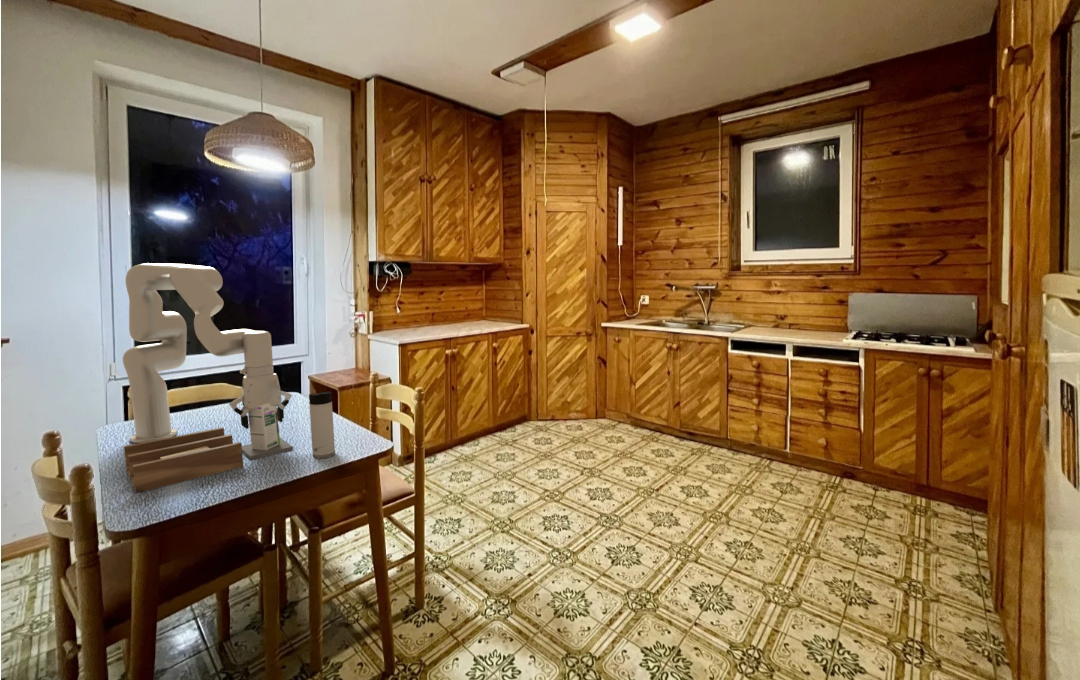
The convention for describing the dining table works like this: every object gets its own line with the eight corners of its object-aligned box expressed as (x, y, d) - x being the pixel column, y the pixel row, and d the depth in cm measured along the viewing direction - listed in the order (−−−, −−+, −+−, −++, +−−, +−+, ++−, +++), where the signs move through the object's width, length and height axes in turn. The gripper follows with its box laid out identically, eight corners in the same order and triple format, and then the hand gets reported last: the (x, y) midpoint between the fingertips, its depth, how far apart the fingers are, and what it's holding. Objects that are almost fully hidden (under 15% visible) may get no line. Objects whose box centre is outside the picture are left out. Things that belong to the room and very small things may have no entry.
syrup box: (266, 450, 150) (262, 405, 148) (250, 449, 152) (246, 404, 150) (280, 444, 156) (277, 400, 154) (265, 443, 157) (261, 399, 155)
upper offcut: (161, 467, 133) (159, 457, 133) (206, 455, 142) (205, 446, 142) (168, 472, 130) (167, 462, 129) (214, 460, 139) (213, 450, 138)
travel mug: (315, 460, 145) (311, 395, 142) (310, 454, 150) (306, 390, 147) (337, 456, 149) (333, 392, 146) (332, 449, 154) (328, 388, 151)
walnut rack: (126, 469, 138) (123, 446, 137) (224, 448, 155) (222, 427, 154) (136, 493, 124) (133, 466, 123) (243, 466, 140) (241, 443, 140)
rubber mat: (239, 449, 154) (238, 446, 154) (280, 440, 163) (279, 437, 162) (250, 459, 146) (250, 456, 146) (292, 449, 154) (292, 446, 154)
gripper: (230, 376, 142) (235, 433, 144) (293, 368, 154) (296, 421, 157) (224, 373, 147) (228, 427, 150) (285, 365, 159) (288, 416, 162)
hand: (263, 424), depth 153 cm, fingers open, 9 cm apart
